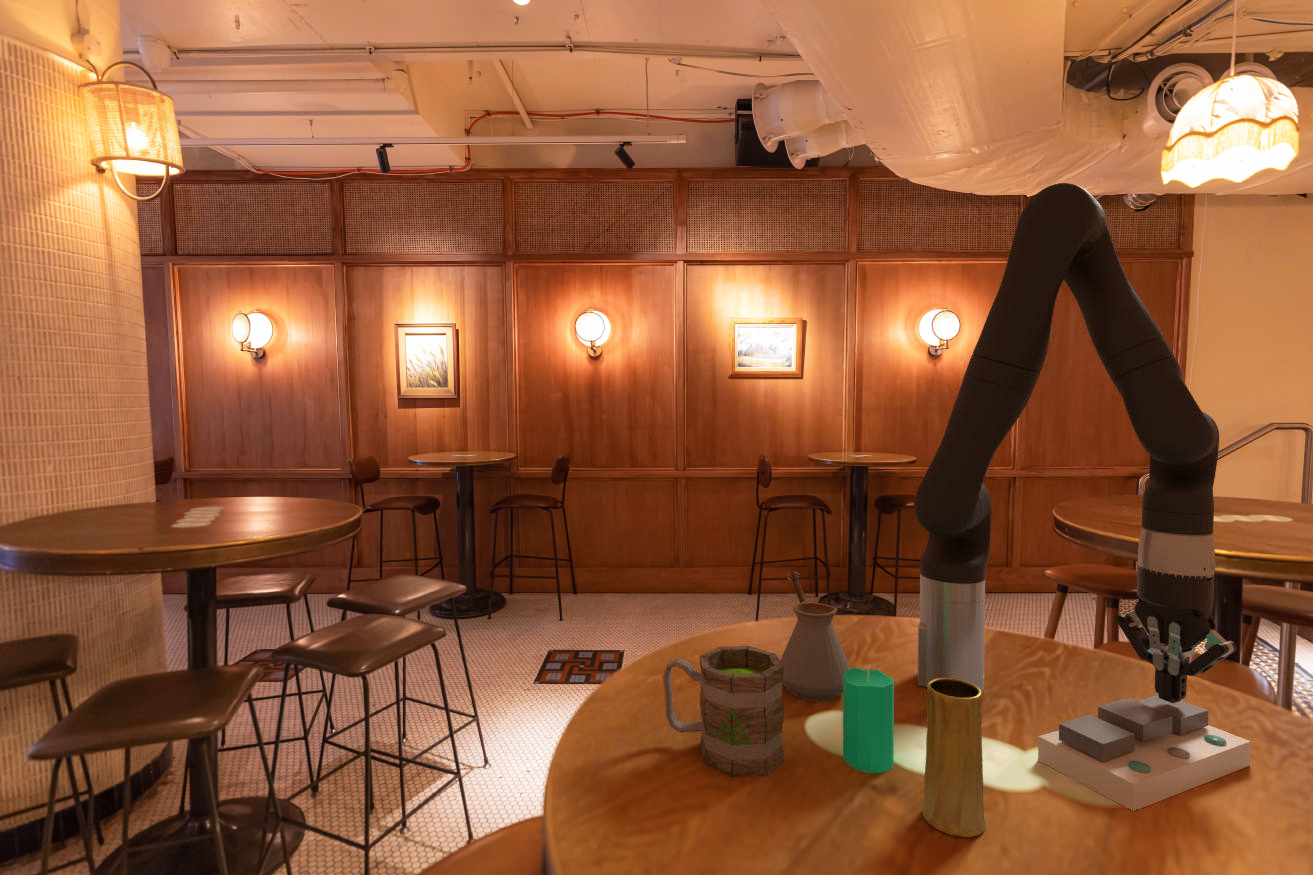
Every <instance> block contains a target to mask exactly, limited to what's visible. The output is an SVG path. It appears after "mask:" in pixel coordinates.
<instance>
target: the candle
mask: <svg viewBox="0 0 1313 875" xmlns="http://www.w3.org/2000/svg"><path fill="white" fill-rule="evenodd" d="M894 698H895V678H893V677H890V676H889V675H887V674H885V673H883V672H882V671H881V670H879V669H870V665H869V664H867V669H865V668H864V669H863V668H858V667H857V668H856V667H852V668H851V669H850V670H847V671H845V673H844V676H843V693H842V758H843V760H844V761H845V764H847V765H848V766H849V767H852V768H853V769H855V770H857V771H860V772H864V773H869V774H881V773H882V774H883V773H886V772H888V771H890V770H892V769H893V766H894V753H895V752H894V746H895V745H894V736H895V735H894V734H895V732H894V729H895V728H894V726H895V720H894V719H895V716H894V714H895V711H894V708H895V704H894V703H895V699H894Z"/></svg>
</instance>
